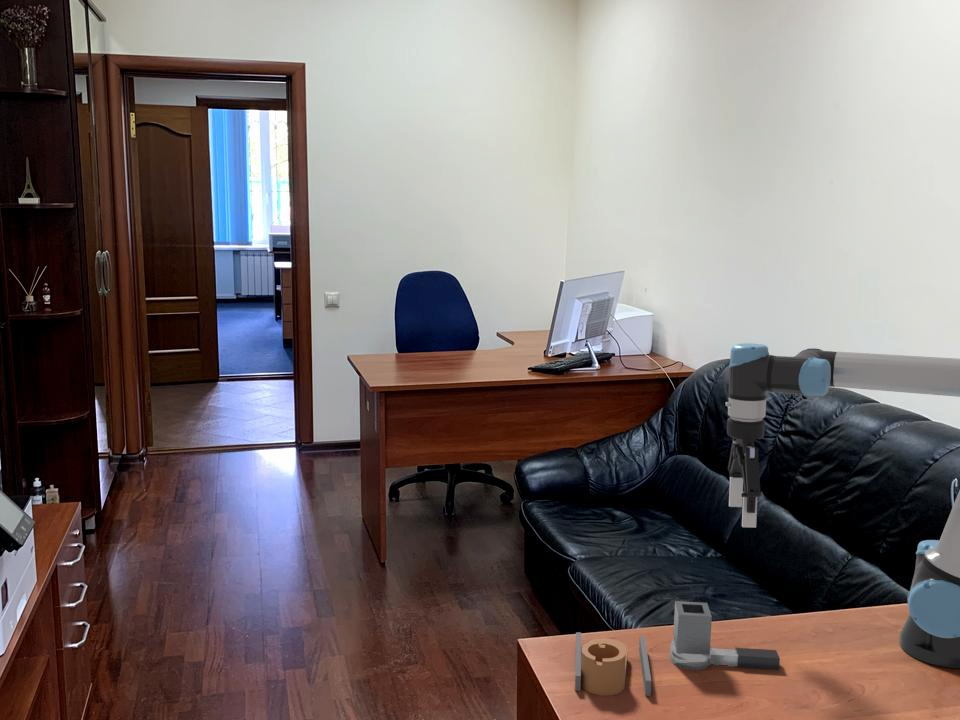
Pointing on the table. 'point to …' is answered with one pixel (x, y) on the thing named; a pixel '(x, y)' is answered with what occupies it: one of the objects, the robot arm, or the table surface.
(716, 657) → the ratchet
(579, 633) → the bar
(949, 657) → the robot arm
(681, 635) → the socket
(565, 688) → the table surface
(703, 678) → the table surface
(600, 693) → the tan slotted hollow cylinder
